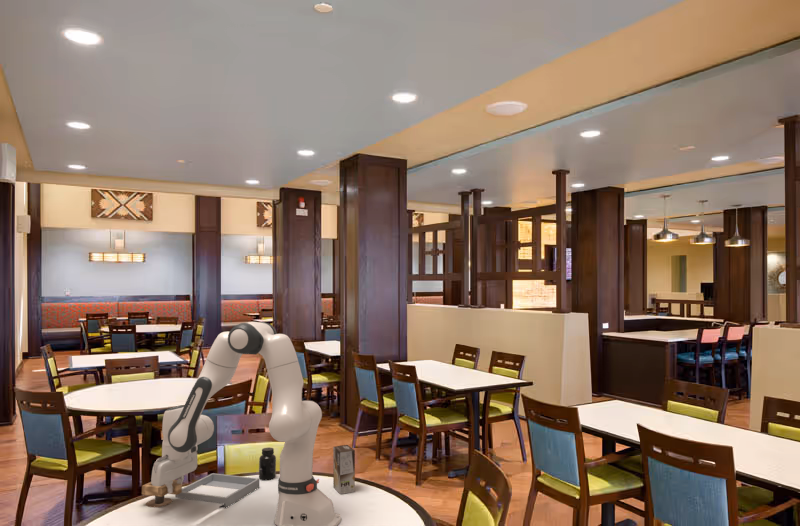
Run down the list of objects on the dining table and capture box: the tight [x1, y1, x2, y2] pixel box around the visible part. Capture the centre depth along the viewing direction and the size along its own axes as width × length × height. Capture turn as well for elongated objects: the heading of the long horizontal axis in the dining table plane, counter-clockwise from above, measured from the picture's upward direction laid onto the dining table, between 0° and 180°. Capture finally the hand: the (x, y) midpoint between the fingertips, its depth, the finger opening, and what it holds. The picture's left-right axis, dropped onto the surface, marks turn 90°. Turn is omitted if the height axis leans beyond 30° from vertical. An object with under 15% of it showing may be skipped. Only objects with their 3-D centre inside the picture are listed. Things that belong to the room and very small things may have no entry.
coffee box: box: [332, 444, 356, 495], centre depth 217 cm, size 9×6×16 cm
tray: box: [174, 472, 260, 509], centre depth 211 cm, size 22×22×4 cm
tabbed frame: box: [141, 479, 183, 497], centre depth 199 cm, size 13×9×3 cm
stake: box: [145, 485, 174, 508], centre depth 199 cm, size 9×9×10 cm
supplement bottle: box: [258, 447, 277, 481], centre depth 230 cm, size 7×7×12 cm
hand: (174, 490), depth 197 cm, fingers closed on tabbed frame, 2 cm apart
